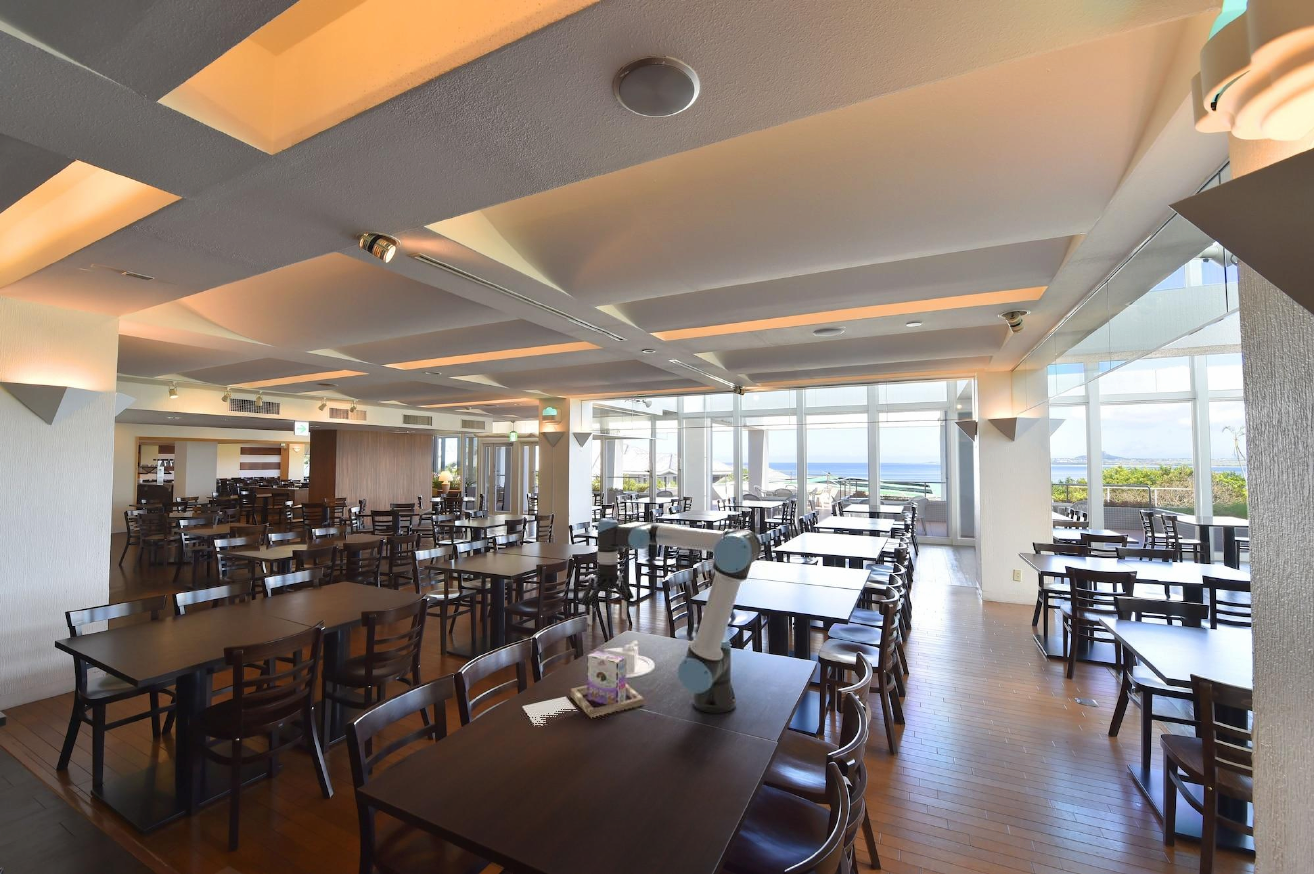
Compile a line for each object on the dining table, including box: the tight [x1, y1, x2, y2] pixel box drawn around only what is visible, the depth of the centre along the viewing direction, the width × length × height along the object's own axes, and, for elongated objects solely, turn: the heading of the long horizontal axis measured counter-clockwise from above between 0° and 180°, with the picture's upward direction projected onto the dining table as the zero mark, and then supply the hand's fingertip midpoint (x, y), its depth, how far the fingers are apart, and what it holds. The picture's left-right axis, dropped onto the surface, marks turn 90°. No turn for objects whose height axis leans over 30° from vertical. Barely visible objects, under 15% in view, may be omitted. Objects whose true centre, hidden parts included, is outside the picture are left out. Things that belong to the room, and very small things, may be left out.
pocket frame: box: [570, 683, 645, 719], centre depth 193 cm, size 20×20×3 cm
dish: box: [603, 640, 656, 679], centre depth 225 cm, size 25×25×11 cm
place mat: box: [521, 696, 578, 726], centre depth 183 cm, size 20×16×1 cm
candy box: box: [586, 650, 627, 706], centre depth 193 cm, size 14×6×16 cm, turn 58°
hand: (607, 621), depth 194 cm, fingers open, 13 cm apart
